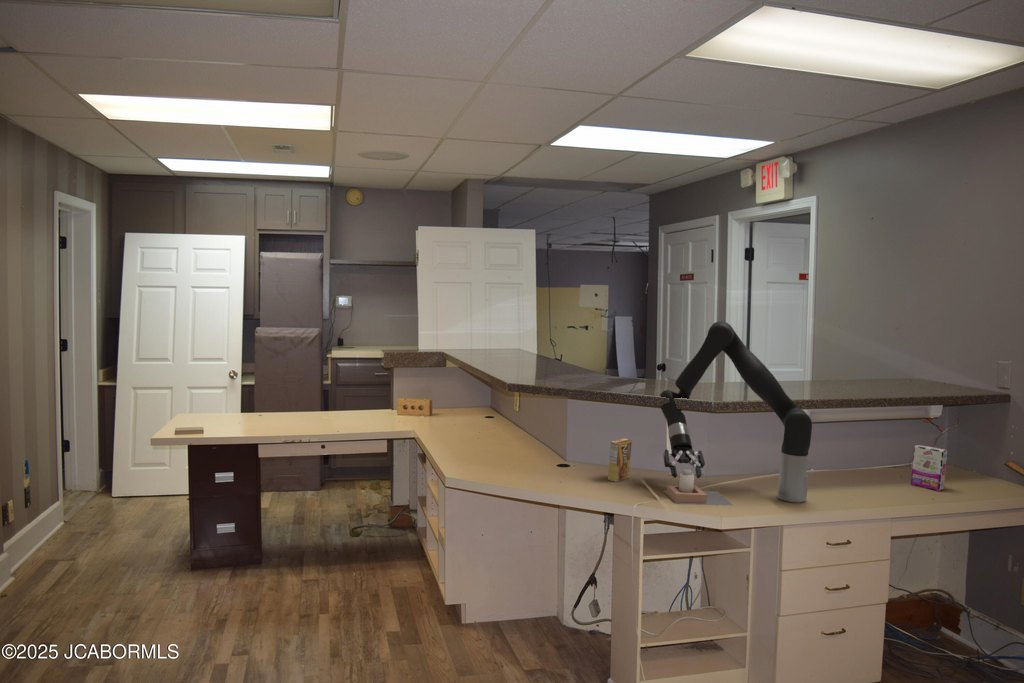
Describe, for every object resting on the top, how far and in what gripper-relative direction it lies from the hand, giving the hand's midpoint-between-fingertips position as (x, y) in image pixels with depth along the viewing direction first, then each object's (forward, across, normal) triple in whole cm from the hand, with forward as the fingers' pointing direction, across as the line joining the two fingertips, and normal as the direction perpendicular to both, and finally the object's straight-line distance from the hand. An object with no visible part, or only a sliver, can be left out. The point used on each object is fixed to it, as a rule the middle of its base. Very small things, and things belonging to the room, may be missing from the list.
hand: (687, 477), depth 265 cm
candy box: (-12, -18, +24) cm, 33 cm away
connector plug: (+6, 0, +5) cm, 8 cm away
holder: (+6, +4, +7) cm, 10 cm away
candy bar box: (-12, +108, +25) cm, 112 cm away
